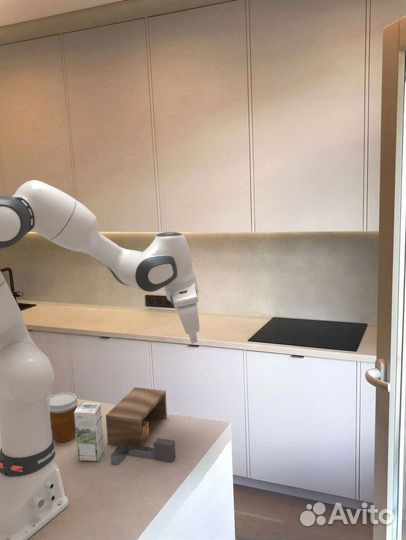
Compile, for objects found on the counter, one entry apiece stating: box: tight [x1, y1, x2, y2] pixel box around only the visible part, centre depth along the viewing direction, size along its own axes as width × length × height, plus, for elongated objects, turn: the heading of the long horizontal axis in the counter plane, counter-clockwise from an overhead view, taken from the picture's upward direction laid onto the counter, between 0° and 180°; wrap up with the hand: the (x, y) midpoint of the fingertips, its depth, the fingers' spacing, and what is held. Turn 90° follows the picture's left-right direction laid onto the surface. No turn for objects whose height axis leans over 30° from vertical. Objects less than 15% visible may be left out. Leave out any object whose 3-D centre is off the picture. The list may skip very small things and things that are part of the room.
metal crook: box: [110, 437, 176, 466], centre depth 130 cm, size 7×16×5 cm, turn 72°
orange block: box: [142, 420, 150, 442], centre depth 142 cm, size 4×4×4 cm
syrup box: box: [74, 402, 105, 462], centre depth 132 cm, size 6×6×14 cm
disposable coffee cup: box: [50, 392, 79, 443], centre depth 143 cm, size 10×10×12 cm
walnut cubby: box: [105, 387, 168, 447], centre depth 145 cm, size 19×10×9 cm, turn 162°
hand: (191, 335), depth 136 cm, fingers open, 8 cm apart
